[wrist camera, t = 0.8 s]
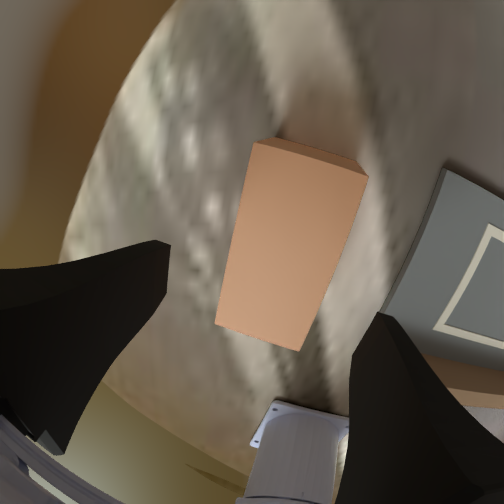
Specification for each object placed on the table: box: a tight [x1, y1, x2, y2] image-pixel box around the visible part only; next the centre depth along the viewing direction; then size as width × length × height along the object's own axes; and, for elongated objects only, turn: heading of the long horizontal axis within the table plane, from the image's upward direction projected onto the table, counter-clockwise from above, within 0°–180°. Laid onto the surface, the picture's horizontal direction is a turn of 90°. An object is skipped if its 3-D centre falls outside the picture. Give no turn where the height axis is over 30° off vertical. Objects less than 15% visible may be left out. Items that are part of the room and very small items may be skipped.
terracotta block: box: [215, 137, 369, 351], centre depth 15 cm, size 9×4×5 cm, turn 167°
